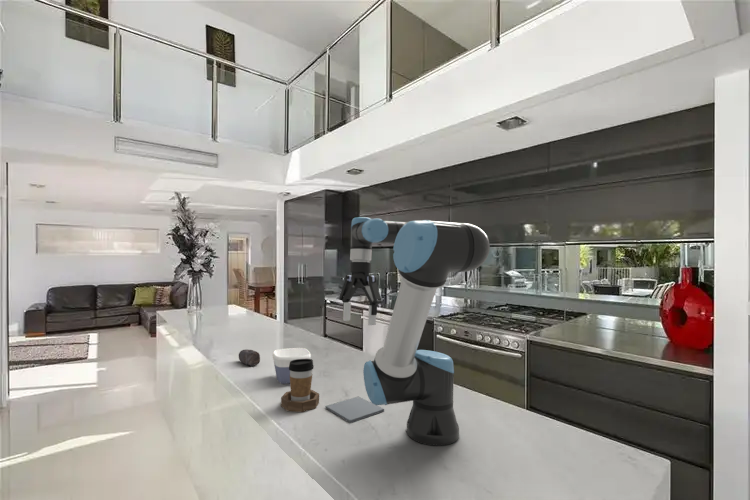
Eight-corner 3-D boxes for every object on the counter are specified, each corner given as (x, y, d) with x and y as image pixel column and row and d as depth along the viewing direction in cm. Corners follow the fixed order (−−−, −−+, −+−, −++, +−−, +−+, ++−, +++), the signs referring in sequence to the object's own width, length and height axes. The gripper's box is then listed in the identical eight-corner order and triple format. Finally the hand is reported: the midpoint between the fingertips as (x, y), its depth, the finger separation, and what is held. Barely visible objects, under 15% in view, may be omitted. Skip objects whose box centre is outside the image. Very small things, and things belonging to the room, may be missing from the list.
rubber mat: (384, 411, 120) (384, 408, 120) (350, 422, 111) (350, 420, 111) (358, 398, 131) (358, 396, 131) (325, 408, 122) (325, 405, 122)
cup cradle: (324, 405, 124) (324, 396, 124) (292, 414, 116) (293, 405, 116) (306, 395, 133) (307, 387, 133) (276, 403, 125) (276, 394, 126)
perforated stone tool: (234, 362, 175) (235, 347, 175) (244, 360, 179) (245, 345, 179) (250, 368, 165) (250, 353, 165) (261, 366, 168) (261, 351, 169)
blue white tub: (313, 383, 147) (314, 355, 147) (274, 387, 141) (274, 358, 141) (306, 372, 161) (306, 346, 161) (270, 375, 155) (270, 349, 156)
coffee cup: (307, 410, 120) (308, 364, 120) (283, 408, 122) (284, 362, 122) (316, 401, 128) (317, 358, 128) (294, 398, 130) (295, 356, 130)
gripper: (393, 261, 121) (391, 326, 119) (347, 262, 139) (345, 318, 138) (377, 260, 116) (375, 327, 114) (331, 261, 134) (329, 319, 133)
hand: (358, 322), depth 126 cm, fingers open, 13 cm apart
